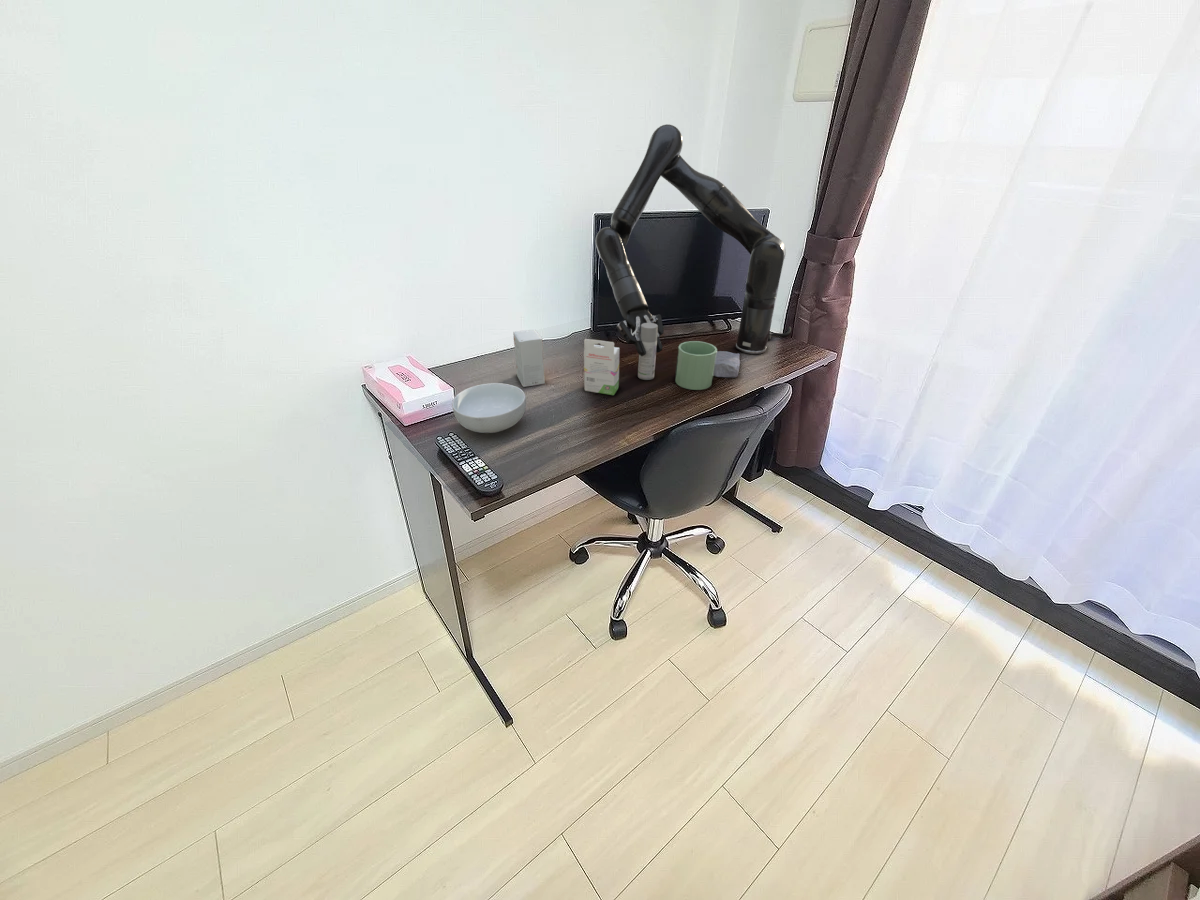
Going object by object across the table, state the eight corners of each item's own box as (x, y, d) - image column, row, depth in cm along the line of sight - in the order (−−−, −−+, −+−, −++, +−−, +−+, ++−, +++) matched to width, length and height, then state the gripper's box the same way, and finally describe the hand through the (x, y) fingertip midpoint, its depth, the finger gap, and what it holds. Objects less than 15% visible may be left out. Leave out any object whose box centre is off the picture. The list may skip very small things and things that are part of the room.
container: (647, 371, 145) (650, 321, 136) (657, 377, 141) (661, 326, 133) (634, 375, 142) (637, 324, 134) (644, 381, 139) (647, 329, 131)
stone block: (705, 381, 144) (741, 378, 141) (703, 365, 141) (740, 362, 139) (706, 366, 153) (739, 363, 151) (705, 351, 151) (739, 347, 148)
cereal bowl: (482, 402, 128) (479, 377, 124) (540, 415, 123) (538, 389, 119) (441, 434, 115) (436, 407, 111) (503, 450, 109) (500, 422, 106)
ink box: (619, 388, 136) (621, 336, 127) (613, 396, 132) (615, 342, 123) (589, 383, 138) (589, 331, 130) (583, 390, 134) (582, 338, 126)
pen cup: (689, 371, 145) (693, 338, 140) (719, 382, 139) (724, 348, 134) (667, 381, 139) (670, 347, 134) (697, 393, 133) (702, 358, 128)
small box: (545, 384, 137) (542, 338, 130) (522, 387, 135) (518, 341, 128) (538, 372, 143) (535, 328, 136) (516, 375, 142) (512, 331, 134)
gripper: (645, 300, 145) (666, 354, 143) (602, 308, 139) (624, 363, 137) (656, 286, 138) (679, 342, 136) (612, 293, 132) (635, 352, 130)
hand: (651, 352), depth 136 cm, fingers closed on container, 4 cm apart
